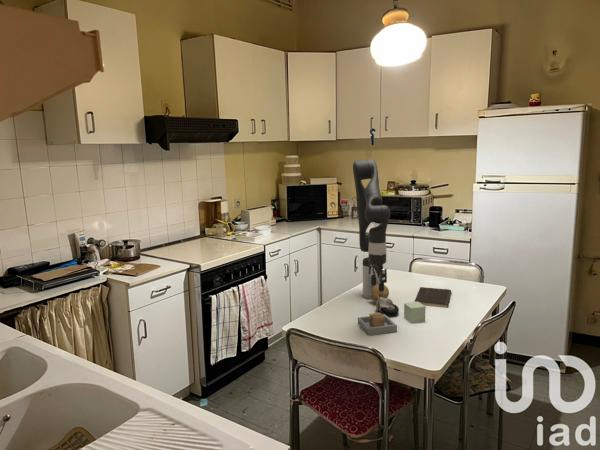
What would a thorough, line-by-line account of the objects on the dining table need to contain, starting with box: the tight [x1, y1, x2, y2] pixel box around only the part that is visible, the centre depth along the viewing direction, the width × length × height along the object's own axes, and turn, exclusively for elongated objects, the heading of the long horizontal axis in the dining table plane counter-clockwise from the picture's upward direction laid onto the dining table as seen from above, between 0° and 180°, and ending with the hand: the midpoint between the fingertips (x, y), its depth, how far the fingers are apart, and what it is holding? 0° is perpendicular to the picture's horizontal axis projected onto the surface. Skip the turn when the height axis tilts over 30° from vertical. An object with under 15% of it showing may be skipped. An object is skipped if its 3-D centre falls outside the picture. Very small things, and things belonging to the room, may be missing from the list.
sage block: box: [403, 301, 426, 324], centre depth 208 cm, size 7×7×7 cm
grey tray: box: [357, 313, 398, 336], centre depth 201 cm, size 13×13×3 cm
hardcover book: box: [413, 286, 452, 309], centre depth 235 cm, size 16×23×2 cm
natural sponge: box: [371, 284, 390, 302], centre depth 230 cm, size 9×9×10 cm
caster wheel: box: [375, 296, 400, 318], centre depth 217 cm, size 7×11×10 cm
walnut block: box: [368, 312, 385, 327], centre depth 200 cm, size 5×5×5 cm
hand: (377, 288), depth 197 cm, fingers open, 8 cm apart
